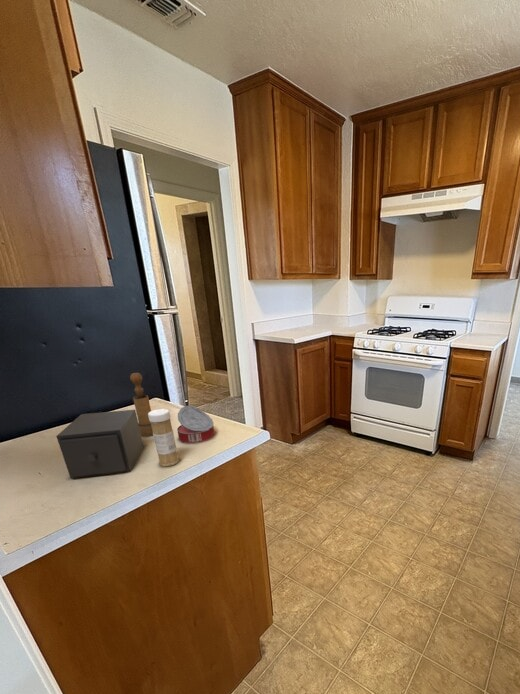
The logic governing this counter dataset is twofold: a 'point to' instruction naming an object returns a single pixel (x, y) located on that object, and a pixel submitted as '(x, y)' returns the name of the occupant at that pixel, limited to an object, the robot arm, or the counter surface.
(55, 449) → the counter surface
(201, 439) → the canned food
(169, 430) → the sprinkles bottle
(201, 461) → the counter surface
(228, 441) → the counter surface
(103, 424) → the small drawer cabinet
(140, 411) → the mortar and pestle
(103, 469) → the pull-out drawer box
